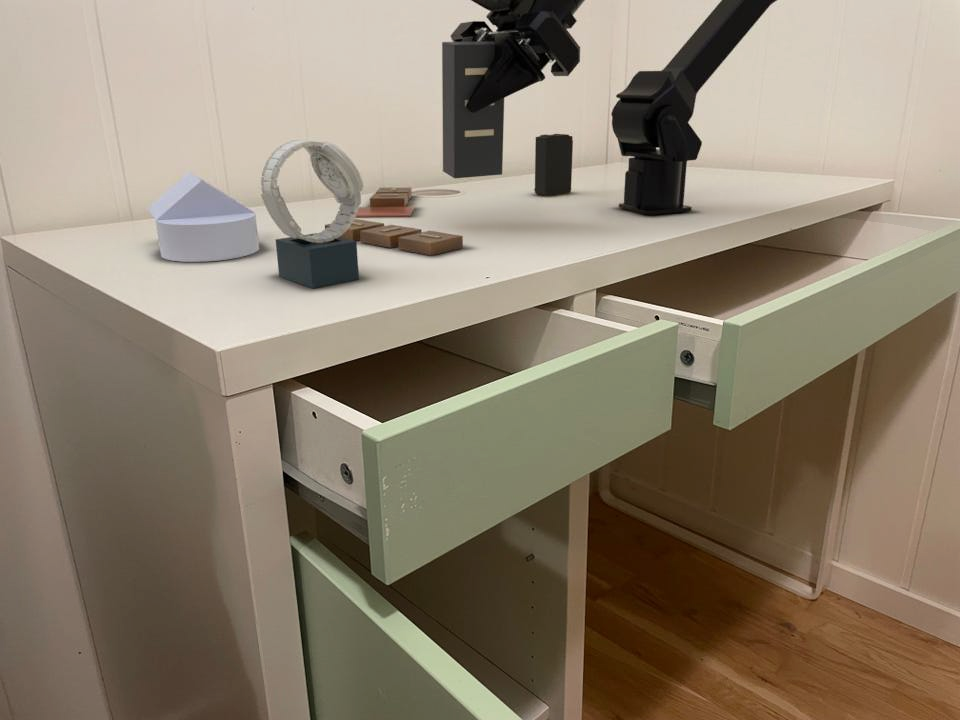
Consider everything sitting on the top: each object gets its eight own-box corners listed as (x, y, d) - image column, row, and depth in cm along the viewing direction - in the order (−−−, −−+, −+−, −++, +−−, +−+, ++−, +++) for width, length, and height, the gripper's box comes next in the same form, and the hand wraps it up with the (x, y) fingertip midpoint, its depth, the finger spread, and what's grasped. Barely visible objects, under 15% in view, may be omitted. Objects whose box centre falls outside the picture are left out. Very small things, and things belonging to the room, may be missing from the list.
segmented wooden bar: (463, 248, 75) (462, 234, 75) (431, 255, 72) (431, 241, 72) (357, 229, 85) (356, 217, 84) (325, 236, 82) (324, 223, 81)
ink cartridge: (560, 191, 111) (561, 133, 109) (571, 193, 110) (573, 134, 107) (534, 194, 109) (534, 135, 106) (545, 196, 107) (546, 135, 104)
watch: (378, 275, 65) (371, 139, 62) (292, 292, 60) (278, 145, 57) (342, 264, 69) (333, 136, 66) (259, 279, 64) (244, 141, 61)
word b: (410, 216, 93) (409, 205, 92) (351, 216, 93) (350, 205, 92) (421, 196, 108) (420, 186, 108) (370, 196, 108) (370, 187, 108)
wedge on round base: (152, 240, 80) (166, 265, 69) (142, 174, 78) (154, 189, 67) (241, 232, 84) (268, 255, 73) (234, 168, 82) (260, 182, 71)
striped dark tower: (442, 171, 84) (441, 41, 79) (489, 167, 86) (492, 41, 80) (454, 178, 81) (454, 44, 76) (502, 174, 83) (506, 43, 78)
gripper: (465, -58, 85) (374, 52, 84) (555, -89, 69) (444, 46, 68) (528, 22, 91) (444, 125, 90) (624, 10, 75) (523, 135, 74)
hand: (460, 108), depth 80 cm, fingers closed on striped dark tower, 4 cm apart
